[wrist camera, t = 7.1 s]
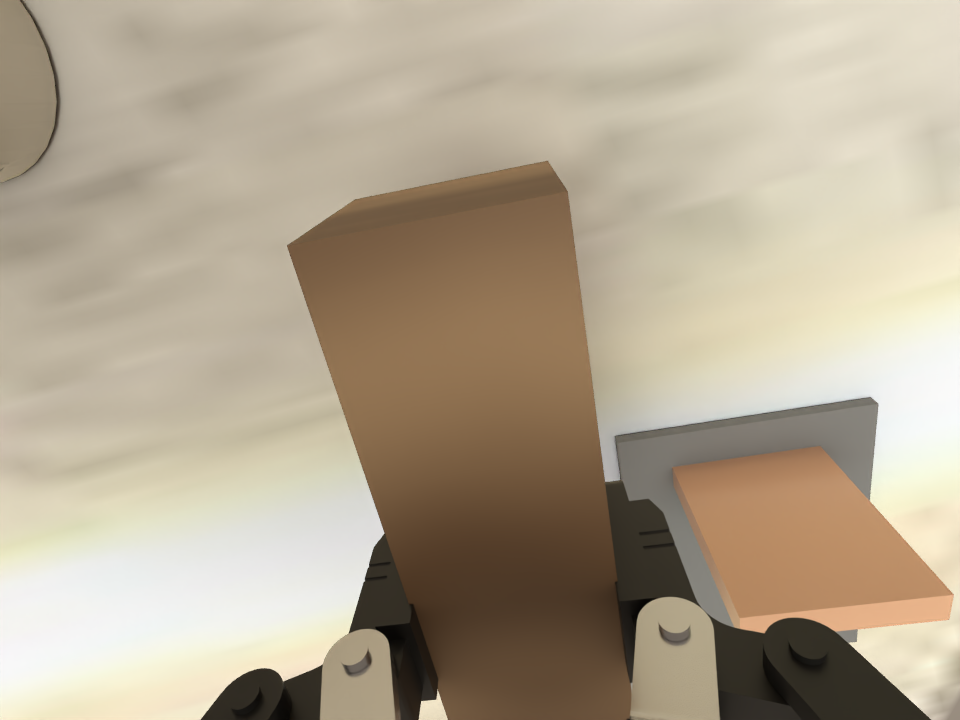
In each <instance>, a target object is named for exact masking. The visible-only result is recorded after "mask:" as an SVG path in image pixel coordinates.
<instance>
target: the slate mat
mask: <svg viewBox="0 0 960 720" xmlns="http://www.w3.org/2000/svg"><path fill="white" fill-rule="evenodd" d="M877 414H878V403H877V402H876V401H874V400H873V399H872V398H864V399H858V400H851V401H845V402H838V403H832V404H825V405H818V406H812V407H805V408H799V409H792V410H785V411H779V412H772V413H766V414H759V415H753V416H746V417H739V418H733V419H726V420H720V421H713V422H706V423H700V424H693V425H687V426H680V427H674V428H667V429H660V430H654V431H647V432H641V433H634V434H628V435H621V436H615V438H616V446H617V454H618V461H619V469H620V476H621V480H622V481H623V483H624V486H625V489H626V492H627V496H628V499H629V501H634V500H642V499H650V500H651V501H652V502H653V503H654V504H655V505H656V506H657V507H658V508H659V509H660V510H661V511H662V512H663V513H664V516H665V518H666V521H667V524H668V526H669V529H670V532H671V534H672V537H673V540H674V542H675V546H676V548H677V550H678V553H679V555H680V558H681V561H682V563H683V566H684V569H685V571H686V574H687V577H688V579H689V582H690V585H691V587H692V590H693V593H694V595H695V598H696V600H697V602H698V603H699V605H700V606H701V608H702V609H703V610H704V611H705V612H706V613H707V614H709V615H710V616H711V617H713V618H714V619H716V620H717V621H719V622H721V623H723V624H725V625H728V626H731V627H734V626H733V623H732V621H731V619H730V616H729V614H728V612H727V609H726V607H725V605H724V602H723V600H722V598H721V595H720V593H719V591H718V588H717V586H716V584H715V581H714V579H713V577H712V574H711V572H710V570H709V567H708V565H707V563H706V560H705V558H704V556H703V553H702V551H701V549H700V546H699V544H698V542H697V539H696V537H695V535H694V532H693V530H692V528H691V525H690V523H689V521H688V518H687V516H686V514H685V511H684V509H683V507H682V504H681V502H680V500H679V498H678V495H677V493H676V491H675V488H674V484H673V472H672V467H677V466H684V465H691V464H697V463H704V462H711V461H718V460H725V459H732V458H739V457H746V456H753V455H760V454H767V453H774V452H781V451H788V450H795V449H802V448H809V447H816V446H821V447H822V449H823V450H824V451H825V452H826V453H827V454H828V455H829V456H830V458H831V459H832V460H833V461H834V462H835V463H836V464H837V465H838V466H839V468H840V469H841V470H842V471H843V472H844V473H845V474H846V475H847V476H848V478H849V479H850V480H851V481H852V482H853V483H854V484H855V485H856V486H857V488H858V489H859V490H860V491H861V492H862V493H863V494H864V495H865V496H866V498H867V499H868V500H869V501H870V490H871V479H872V468H873V457H874V446H875V435H876V424H877ZM857 631H858V629H855V630H846V631H836V633H837V634H839V635H840V636H841V637H842V638H843V639H844V640H845V641H846V642H857Z"/></svg>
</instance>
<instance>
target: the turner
mask: <svg viewBox="0 0 960 720" xmlns="http://www.w3.org/2000/svg"><path fill="white" fill-rule="evenodd" d="M287 247H288V250H289V253H290V256H291V259H292V262H293V265H294V268H295V271H296V274H297V277H298V280H299V282H300V285H301V288H302V291H303V294H304V297H305V300H306V303H307V306H308V309H309V312H310V315H311V318H312V321H313V324H314V327H315V330H316V332H317V335H318V338H319V341H320V344H321V347H322V350H323V353H324V356H325V359H326V362H327V365H328V368H329V371H330V374H331V377H332V380H333V382H334V385H335V388H336V391H337V394H338V397H339V400H340V403H341V406H342V409H343V412H344V415H345V418H346V421H347V424H348V427H349V430H350V432H351V435H352V438H353V441H354V444H355V447H356V450H357V453H358V456H359V459H360V462H361V465H362V468H363V471H364V474H365V477H366V480H367V482H368V485H369V488H370V491H371V494H372V497H373V500H374V503H375V506H376V509H377V512H378V515H379V518H380V521H381V524H382V527H383V530H384V532H385V535H386V538H387V541H388V544H389V547H390V550H391V553H392V556H393V559H394V562H395V565H396V568H397V571H398V574H399V577H400V580H401V582H402V585H403V588H404V591H405V594H406V597H407V600H408V603H409V604H413V605H414V608H415V611H416V614H417V617H418V620H419V623H420V626H421V629H422V632H423V635H424V638H425V641H426V644H427V647H428V650H429V653H430V656H431V659H432V661H433V664H434V667H435V670H436V673H437V676H438V679H439V680H438V691H439V694H440V697H441V700H442V703H443V706H444V709H445V712H446V715H447V718H448V720H626V719H627V718H629V717H630V711H631V697H632V683H630V681H629V676H628V672H627V667H626V662H625V654H624V647H623V639H622V631H621V624H620V616H619V608H618V601H617V593H616V585H615V582H617V573H616V565H615V557H614V549H613V542H612V534H611V526H610V518H609V510H608V503H607V495H606V487H605V479H604V471H603V464H602V456H601V448H600V440H599V432H598V425H597V417H596V409H595V401H594V393H593V386H592V378H591V370H590V362H589V354H588V347H587V339H586V331H585V323H584V316H583V308H582V300H581V292H580V284H579V277H578V269H577V261H576V253H575V245H574V238H573V230H572V222H571V214H570V206H569V199H568V191H567V190H566V188H565V187H564V185H563V184H562V182H561V181H560V179H559V177H558V176H557V174H556V173H555V171H554V170H553V168H552V167H551V165H550V164H549V162H548V161H545V162H540V163H535V164H530V165H525V166H520V167H515V168H510V169H505V170H500V171H495V172H490V173H485V174H480V175H475V176H470V177H465V178H460V179H455V180H450V181H445V182H440V183H435V184H430V185H425V186H420V187H415V188H410V189H405V190H400V191H395V192H390V193H385V194H380V195H375V196H370V197H365V198H360V199H355V200H354V201H352V202H351V203H349V204H348V205H346V206H345V207H343V208H342V209H340V210H339V211H337V212H336V213H334V214H333V215H331V216H330V217H329V218H327V219H326V220H324V221H323V222H321V223H320V224H318V225H317V226H315V227H314V228H312V229H311V230H309V231H308V232H306V233H305V234H304V235H302V236H301V237H299V238H298V239H296V240H295V241H293V242H292V243H290V244H289V245H287Z"/></svg>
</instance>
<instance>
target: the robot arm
mask: <svg viewBox="0 0 960 720" xmlns="http://www.w3.org/2000/svg"><path fill="white" fill-rule="evenodd" d="M56 105H57V100H56V90H55V81H54V74H53V71H52V67H51V64H50V60H49V57H48V54H47V50H46V47H45V45H44V43H43V41H42V39H41V36H40V34H39V32H38V30H37V28H36V26H35V24H34V22H33V20H32V18H31V16H30V15H29V13H28V12H27V10H26V9H25V7H24V6H23V4H22V3H21V1H20V0H0V183H2V182H4V181H7V180H9V179H12V178H15V177H17V176H20V175H21V174H22V173H24V172H25V171H26V170H28V169H29V168H30V167H31V166H33V165H34V164H35V163H36V162H37V160H38V159H39V158H40V156H41V155H42V153H43V152H44V150H45V149H46V148H47V146H48V143H49V140H50V137H51V134H52V131H53V129H54V125H55V115H56ZM605 487H606V495H607V503H608V510H609V518H610V526H611V534H612V542H613V549H614V557H615V565H616V573H617V582H615V585H616V593H617V601H618V608H619V616H620V624H621V631H622V639H623V647H624V654H625V662H626V667H627V672H628V676H629V681H630V683H632V697H631V711H630V717H629V718H627V719H626V720H931V719H930V718H929V717H928V716H926V715H925V714H924V713H923V712H922V711H921V710H920V709H919V708H918V707H917V706H916V705H915V704H913V703H912V702H911V701H910V700H909V699H908V698H907V697H906V696H905V695H904V694H903V693H902V692H901V691H899V690H898V689H897V688H896V687H895V686H894V685H893V684H892V683H891V682H890V681H889V680H888V679H886V678H885V677H884V676H883V675H882V674H881V673H880V672H879V671H878V670H877V669H876V668H875V667H874V666H872V665H871V664H870V663H869V662H868V661H867V660H866V659H865V658H864V657H863V656H862V655H861V654H859V653H858V652H857V651H856V650H855V649H854V648H853V647H852V646H851V645H850V644H849V643H848V642H846V641H845V640H844V639H843V638H842V637H841V636H840V635H839V634H837V633H836V632H835V631H834V630H832V629H831V628H829V627H827V626H825V625H823V624H821V623H819V622H816V621H813V620H810V619H805V618H785V619H781V620H778V621H776V622H774V623H773V624H771V625H770V626H769V627H768V629H767V630H766V631H765V633H761V632H755V631H749V630H744V629H739V628H734V627H731V626H728V625H725V624H723V623H721V622H719V621H717V620H716V619H714V618H713V617H711V616H710V615H709V614H707V613H706V612H705V611H704V610H703V609H702V608H701V606H700V605H699V603H698V602H697V600H696V598H695V595H694V593H693V590H692V587H691V585H690V582H689V579H688V577H687V574H686V571H685V569H684V566H683V563H682V561H681V558H680V555H679V553H678V550H677V548H676V546H675V542H674V540H673V537H672V534H671V532H670V529H669V526H668V524H667V521H666V518H665V516H664V513H663V512H662V511H661V510H660V509H659V508H658V507H657V506H656V505H655V504H654V503H653V502H652V501H651V500H650V499H642V500H634V501H629V499H628V496H627V492H626V489H625V486H624V483H623V481H622V480H619V481H612V482H605ZM438 680H439V679H438V676H437V673H436V670H435V667H434V664H433V661H432V659H431V656H430V653H429V650H428V647H427V644H426V641H425V638H424V635H423V632H422V629H421V626H420V623H419V620H418V617H417V614H416V611H415V608H414V605H413V604H409V603H408V600H407V597H406V594H405V591H404V588H403V585H402V582H401V580H400V577H399V574H398V571H397V568H396V565H395V562H394V559H393V556H392V553H391V550H390V547H389V544H388V541H387V538H386V535H385V534H384V535H383V536H382V538H381V539H380V540H379V542H378V543H377V544H376V545H375V547H374V549H373V552H372V556H371V559H370V563H369V568H368V570H367V573H366V576H365V582H364V583H363V587H362V590H361V593H360V597H359V600H358V604H357V607H356V611H355V614H354V617H353V621H352V624H351V628H350V631H349V634H347V635H346V636H344V637H343V638H341V639H340V640H339V641H337V642H336V643H335V644H334V645H333V646H332V648H331V649H330V650H329V652H328V653H327V655H326V657H325V659H324V663H323V665H321V666H319V667H317V668H315V669H313V670H311V671H308V672H306V673H304V674H301V675H299V676H296V677H294V678H291V679H289V680H286V681H284V682H283V680H282V678H281V676H280V675H279V674H278V673H277V672H276V671H274V670H272V669H266V668H264V669H256V670H253V671H250V672H247V673H245V674H243V675H242V676H240V677H238V678H237V679H236V680H234V681H233V682H232V683H231V684H230V685H228V686H227V687H226V688H225V690H224V691H223V692H222V693H221V694H220V696H219V697H218V698H217V699H216V701H215V702H214V703H213V705H212V706H211V707H210V708H209V710H208V711H207V712H206V714H205V715H204V716H203V717H202V719H201V720H418V719H419V712H420V705H421V701H426V700H436V697H437V689H438Z"/></svg>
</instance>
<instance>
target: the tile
mask: <svg viewBox="0 0 960 720" xmlns="http://www.w3.org/2000/svg"><path fill="white" fill-rule="evenodd" d="M672 472H673V484H674V488H675V491H676V493H677V495H678V498H679V500H680V502H681V504H682V507H683V509H684V511H685V514H686V516H687V518H688V521H689V523H690V525H691V528H692V530H693V532H694V535H695V537H696V539H697V542H698V544H699V546H700V549H701V551H702V553H703V556H704V558H705V560H706V563H707V565H708V567H709V570H710V572H711V574H712V577H713V579H714V581H715V584H716V586H717V588H718V591H719V593H720V595H721V598H722V600H723V602H724V605H725V607H726V609H727V612H728V614H729V616H730V619H731V621H732V623H733V626H734V628H739V629H744V630H749V631H755V632H761V633H765V631H766V630H767V629H768V627H769V626H770V625H771V624H773V623H774V622H776V621H778V620H781V619H785V618H805V619H810V620H813V621H816V622H819V623H821V624H823V625H825V626H827V627H829V628H831V629H832V630H834V631H835V632H836V631H846V630H855V629H865V628H874V627H884V626H894V625H903V624H913V623H922V622H932V621H941V620H949V618H950V612H951V607H952V601H953V596H954V594H953V593H952V592H951V591H950V590H949V589H948V588H947V587H946V586H945V584H944V583H943V582H942V581H941V580H940V579H939V578H938V577H937V576H936V574H935V573H934V572H933V571H932V570H931V569H930V568H929V567H928V566H927V564H926V563H925V562H924V561H923V560H922V559H921V558H920V557H919V555H918V554H917V553H916V552H915V551H914V550H913V549H912V548H911V547H910V545H909V544H908V543H907V542H906V541H905V540H904V539H903V538H902V537H901V535H900V534H899V533H898V532H897V531H896V530H895V529H894V528H893V527H892V525H891V524H890V523H889V522H888V521H887V520H886V519H885V518H884V517H883V515H882V514H881V513H880V512H879V511H878V510H877V509H876V508H875V506H874V505H873V504H872V503H871V502H870V501H869V500H868V499H867V498H866V496H865V495H864V494H863V493H862V492H861V491H860V490H859V489H858V488H857V486H856V485H855V484H854V483H853V482H852V481H851V480H850V479H849V478H848V476H847V475H846V474H845V473H844V472H843V471H842V470H841V469H840V468H839V466H838V465H837V464H836V463H835V462H834V461H833V460H832V459H831V458H830V456H829V455H828V454H827V453H826V452H825V451H824V450H823V449H822V447H821V446H816V447H809V448H802V449H795V450H788V451H781V452H774V453H767V454H760V455H753V456H746V457H739V458H732V459H725V460H718V461H711V462H704V463H697V464H691V465H684V466H677V467H672Z"/></svg>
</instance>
